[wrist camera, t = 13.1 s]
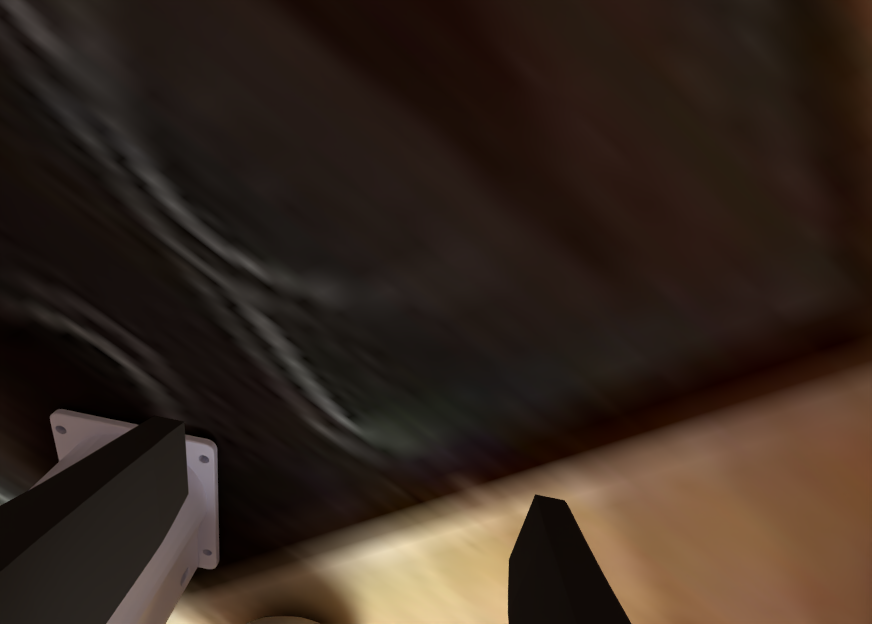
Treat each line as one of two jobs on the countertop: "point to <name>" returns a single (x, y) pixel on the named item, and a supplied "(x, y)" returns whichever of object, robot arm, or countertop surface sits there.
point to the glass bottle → (282, 620)
